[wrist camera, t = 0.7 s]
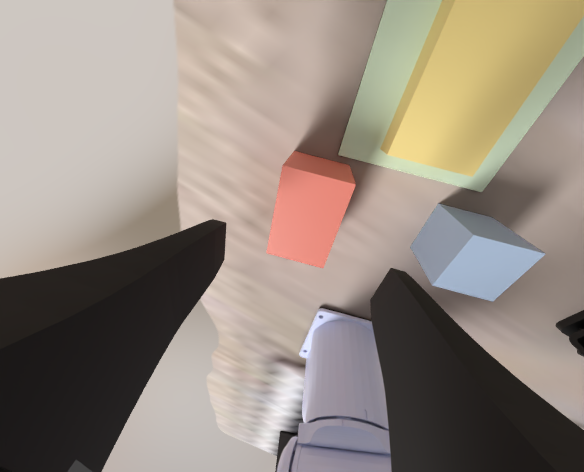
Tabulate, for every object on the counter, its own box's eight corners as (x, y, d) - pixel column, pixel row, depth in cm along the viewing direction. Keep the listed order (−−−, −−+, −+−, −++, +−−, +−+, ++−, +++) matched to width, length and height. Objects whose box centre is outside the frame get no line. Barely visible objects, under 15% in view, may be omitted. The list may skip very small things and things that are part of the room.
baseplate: (480, 191, 14) (481, 192, 14) (337, 154, 15) (338, 155, 14) (641, -27, 9) (647, -30, 9) (413, -82, 9) (414, -86, 9)
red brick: (324, 234, 18) (323, 268, 14) (279, 222, 18) (266, 253, 14) (349, 164, 15) (356, 184, 11) (294, 150, 15) (282, 165, 11)
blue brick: (457, 259, 17) (492, 301, 14) (409, 246, 17) (432, 285, 14) (492, 217, 15) (545, 253, 11) (438, 203, 15) (473, 234, 12)
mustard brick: (454, 168, 14) (472, 177, 12) (380, 148, 14) (387, 154, 12) (566, -10, 9) (618, -35, 8) (457, -36, 9) (485, -67, 8)
